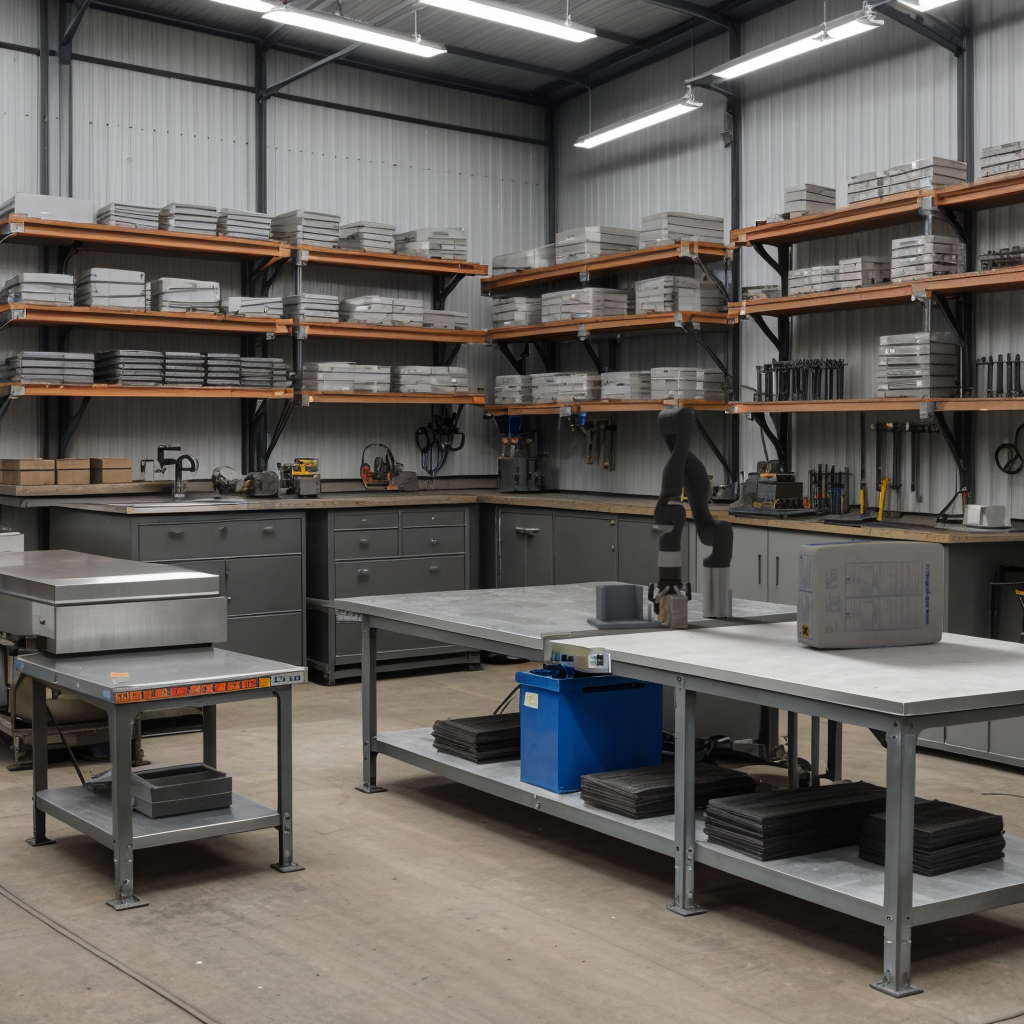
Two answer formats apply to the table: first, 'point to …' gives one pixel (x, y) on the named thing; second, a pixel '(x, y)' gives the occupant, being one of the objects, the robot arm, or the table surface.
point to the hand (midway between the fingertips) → (669, 614)
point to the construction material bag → (870, 594)
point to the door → (674, 610)
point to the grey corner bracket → (621, 608)
